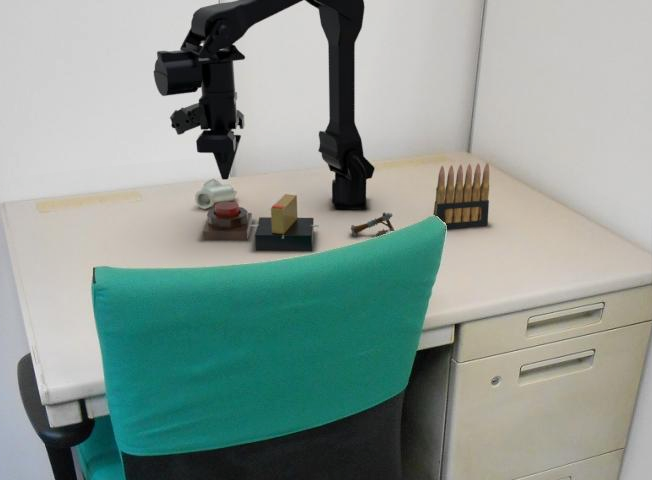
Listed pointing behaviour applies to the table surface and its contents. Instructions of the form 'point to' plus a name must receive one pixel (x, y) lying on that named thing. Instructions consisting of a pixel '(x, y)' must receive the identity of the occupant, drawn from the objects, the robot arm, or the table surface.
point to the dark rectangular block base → (285, 236)
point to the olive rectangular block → (284, 213)
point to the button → (226, 209)
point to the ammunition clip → (463, 198)
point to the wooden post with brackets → (372, 223)
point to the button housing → (227, 226)
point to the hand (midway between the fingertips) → (225, 178)
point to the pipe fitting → (214, 194)
